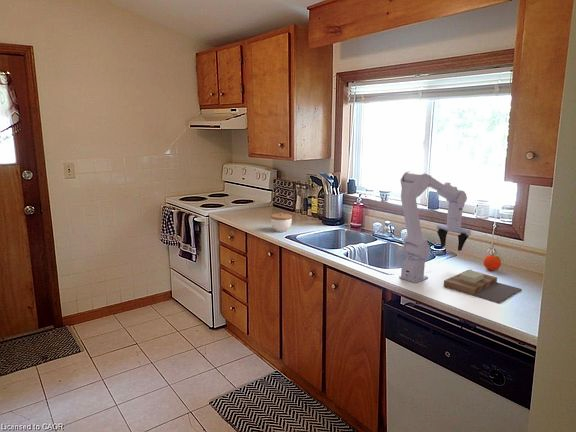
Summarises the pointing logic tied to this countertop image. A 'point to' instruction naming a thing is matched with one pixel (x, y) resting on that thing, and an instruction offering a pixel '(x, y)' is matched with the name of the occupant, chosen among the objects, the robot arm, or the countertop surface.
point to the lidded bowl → (281, 222)
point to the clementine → (492, 262)
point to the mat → (497, 292)
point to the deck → (469, 284)
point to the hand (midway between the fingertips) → (451, 248)
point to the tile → (471, 276)
